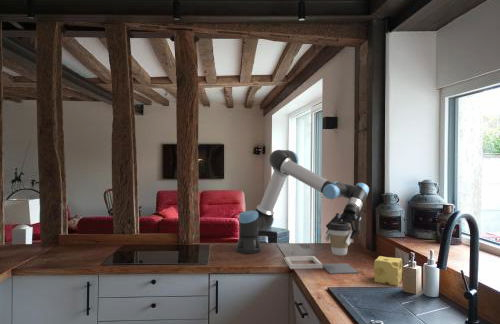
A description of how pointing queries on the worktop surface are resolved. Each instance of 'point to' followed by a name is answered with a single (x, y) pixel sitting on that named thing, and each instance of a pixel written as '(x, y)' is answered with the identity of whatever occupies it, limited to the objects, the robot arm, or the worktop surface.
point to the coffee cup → (339, 237)
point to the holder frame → (303, 266)
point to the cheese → (388, 270)
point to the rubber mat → (339, 268)
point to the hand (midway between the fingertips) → (336, 241)
